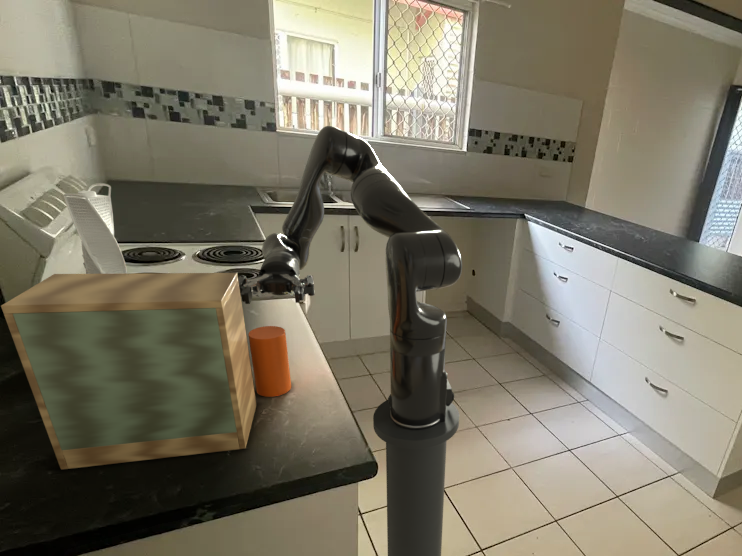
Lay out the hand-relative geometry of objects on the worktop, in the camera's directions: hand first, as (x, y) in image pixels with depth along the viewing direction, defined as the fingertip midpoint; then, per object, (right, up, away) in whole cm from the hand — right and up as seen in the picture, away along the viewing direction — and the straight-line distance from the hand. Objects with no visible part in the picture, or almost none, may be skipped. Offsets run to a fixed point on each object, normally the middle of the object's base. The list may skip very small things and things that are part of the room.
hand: (272, 298), depth 89 cm
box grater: (-45, -2, +19) cm, 49 cm away
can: (+2, -16, -4) cm, 17 cm away
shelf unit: (-6, -22, -18) cm, 29 cm away
